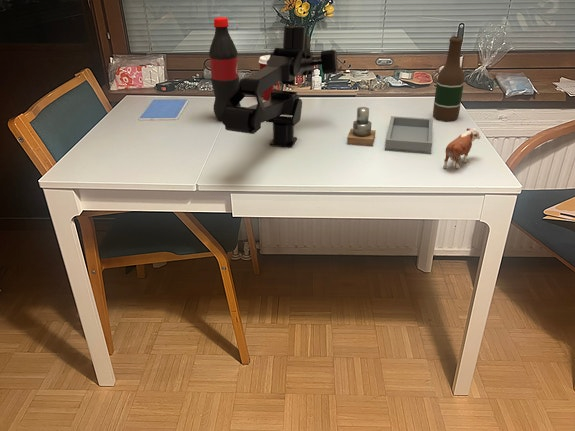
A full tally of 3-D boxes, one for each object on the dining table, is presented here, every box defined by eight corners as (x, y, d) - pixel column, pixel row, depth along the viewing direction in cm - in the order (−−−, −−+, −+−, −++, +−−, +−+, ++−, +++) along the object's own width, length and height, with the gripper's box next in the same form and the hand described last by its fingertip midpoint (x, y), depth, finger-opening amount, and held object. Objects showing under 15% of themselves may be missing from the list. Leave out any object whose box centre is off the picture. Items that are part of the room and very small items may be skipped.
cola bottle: (243, 113, 170) (237, 14, 155) (238, 123, 163) (232, 20, 148) (217, 113, 171) (209, 14, 156) (211, 122, 164) (202, 20, 149)
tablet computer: (177, 122, 166) (176, 118, 165) (137, 122, 167) (136, 118, 166) (189, 102, 183) (189, 98, 182) (153, 102, 183) (152, 98, 183)
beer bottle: (459, 122, 161) (471, 40, 149) (432, 121, 162) (443, 39, 150) (457, 114, 167) (469, 35, 155) (432, 112, 169) (441, 34, 157)
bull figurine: (479, 157, 138) (485, 128, 134) (452, 174, 130) (457, 142, 126) (464, 153, 141) (469, 123, 137) (436, 168, 133) (441, 138, 129)
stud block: (372, 146, 146) (373, 138, 145) (347, 144, 147) (347, 136, 146) (375, 136, 152) (375, 129, 150) (350, 135, 153) (351, 127, 152)
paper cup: (282, 101, 180) (281, 60, 173) (259, 102, 180) (257, 60, 173) (282, 94, 187) (281, 54, 180) (260, 95, 187) (259, 54, 180)
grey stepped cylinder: (369, 137, 146) (371, 112, 142) (351, 135, 147) (352, 111, 143) (371, 130, 150) (373, 106, 146) (354, 129, 151) (355, 105, 147)
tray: (430, 153, 141) (432, 143, 139) (384, 150, 143) (385, 139, 142) (431, 128, 157) (432, 118, 155) (390, 125, 159) (391, 116, 158)
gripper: (325, 30, 141) (342, 30, 155) (262, 39, 149) (284, 38, 162) (329, 74, 144) (345, 70, 158) (267, 79, 152) (287, 75, 166)
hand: (315, 62), depth 161 cm, fingers open, 9 cm apart
